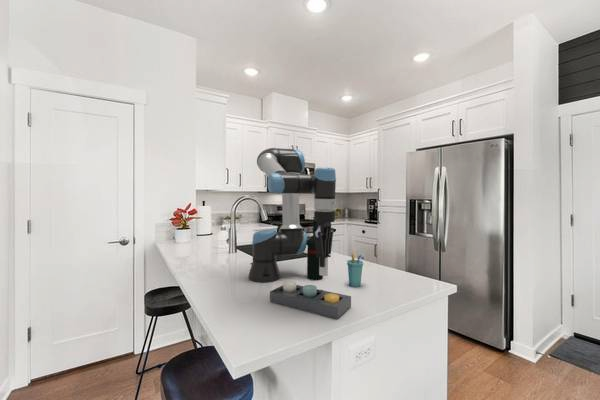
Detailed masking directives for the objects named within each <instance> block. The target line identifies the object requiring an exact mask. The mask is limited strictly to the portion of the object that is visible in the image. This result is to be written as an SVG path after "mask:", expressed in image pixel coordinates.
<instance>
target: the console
mask: <svg viewBox="0 0 600 400" xmlns="http://www.w3.org/2000/svg"><path fill="white" fill-rule="evenodd" d="M303 286H304V285H298V284H296V291H295V292H294V293H288V292H284V291H283V284H282V285H280V286H279V287H276V288H274V289H273V290H270V291H269V302H270V303H273V304H276V305H281V306H284V307H289V308H292V309H295V310H296V309H297V310H299V311H303V312H308V313H311V314H314V315H318V316H319V315H320V316H324V317H326V318H330V319H335V320H339V319H340V318H341V317H342V316H344V314H345V313H346V312H348V310H350V308H352V296H351V295H347V294H343V293H336V292H331V291H327V290H323V289H318V288H317V296H316V297H314V298H310V297H306V296H303ZM330 293H332V294H337V295H339V302H338V303H332V302H327V301H324V295H325V294H330Z"/></svg>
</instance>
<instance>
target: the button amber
mask: <svg viewBox="0 0 600 400" xmlns="http://www.w3.org/2000/svg"><path fill="white" fill-rule="evenodd" d="M324 301H327V302H332V303H338V302H339V295H337V294H332V293H330V294H325V295H324Z"/></svg>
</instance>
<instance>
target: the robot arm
mask: <svg viewBox="0 0 600 400" xmlns="http://www.w3.org/2000/svg"><path fill="white" fill-rule="evenodd" d="M305 160H306V159H305V155H304V153H303V152H302V151H301V150H300V149H294V148H276V147H270V148H266V149H264V150H262V151H261V152H260V153H259V154H258V156H257V158H256V165H257V167H258V169H259V170H260V172H263V173H264V174H265V176H266V177H267V190H268V191H269V193H270V194H278V195H279V194H281V198H282V199H281V203H282V206H281V207H282V212H281V213H282V225H281V226H280V228H279V231H277V229H276V228H275V229H274V228H270V229H269V228H268V229H262V230H258V231H255V232H254V233H253V234H252V241H251V242H252V263H251V267H250V270H249V272H248V279H249V280H250V281H251V282H256V283H270V282H274V281H277V280H279V279H281V272H280V270H279V269H280V268H279V265H278V262H277V257H278V256H296V255H301V254H303V253H304V252H305V251H306V248H307V245H308V236H307V235H308V234H307V232H306V231H304V230H303V229H304V227H303V226H301V224H300V195H299V194H305V195H306V194H307V195H314V200H313V203H314V204H313V206H314V207H313V210H315V211H314V212H313V217H314V219H313V220H314V221H316V222H318V224H317V231H314V232H313V231H312V236H313V235H314V238H315V247H316V256H317V257H318V258H320V259H319V275H321V276H323V277H327V276H328V275H329V271H328V270H329V258H331V257H332V256H331V255H332V247H333V246H332V245H333V238H334V237H333V236H334V232H335V228H334V227H332V223H334V222H335V220H336V212H335V211H334V210H336V204H337V202H336V187H337V185H336V183H337V178H336V169H335V168H334V167H327V166H326V167H316V168H315V170H314V174H309V173H308V174H306V173H304V171H305V166H306V161H305Z"/></svg>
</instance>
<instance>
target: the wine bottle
mask: <svg viewBox="0 0 600 400" xmlns="http://www.w3.org/2000/svg"><path fill="white" fill-rule="evenodd" d="M312 217H313V220H312V233H313V232H314V231H317V224H318V222H316V221H314V216H312ZM306 248H307V252H306V253H307V254H306V257H307V258H306V261H307V262H306V264H307V265H306V278H307V280H310V281H322V280H323V279H324V276H321V275H319V259H320V258H318V257H317V256H316V247H315V238H314V235H313V234H312V236H311V237H309V238H308V239H307V245H306Z"/></svg>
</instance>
